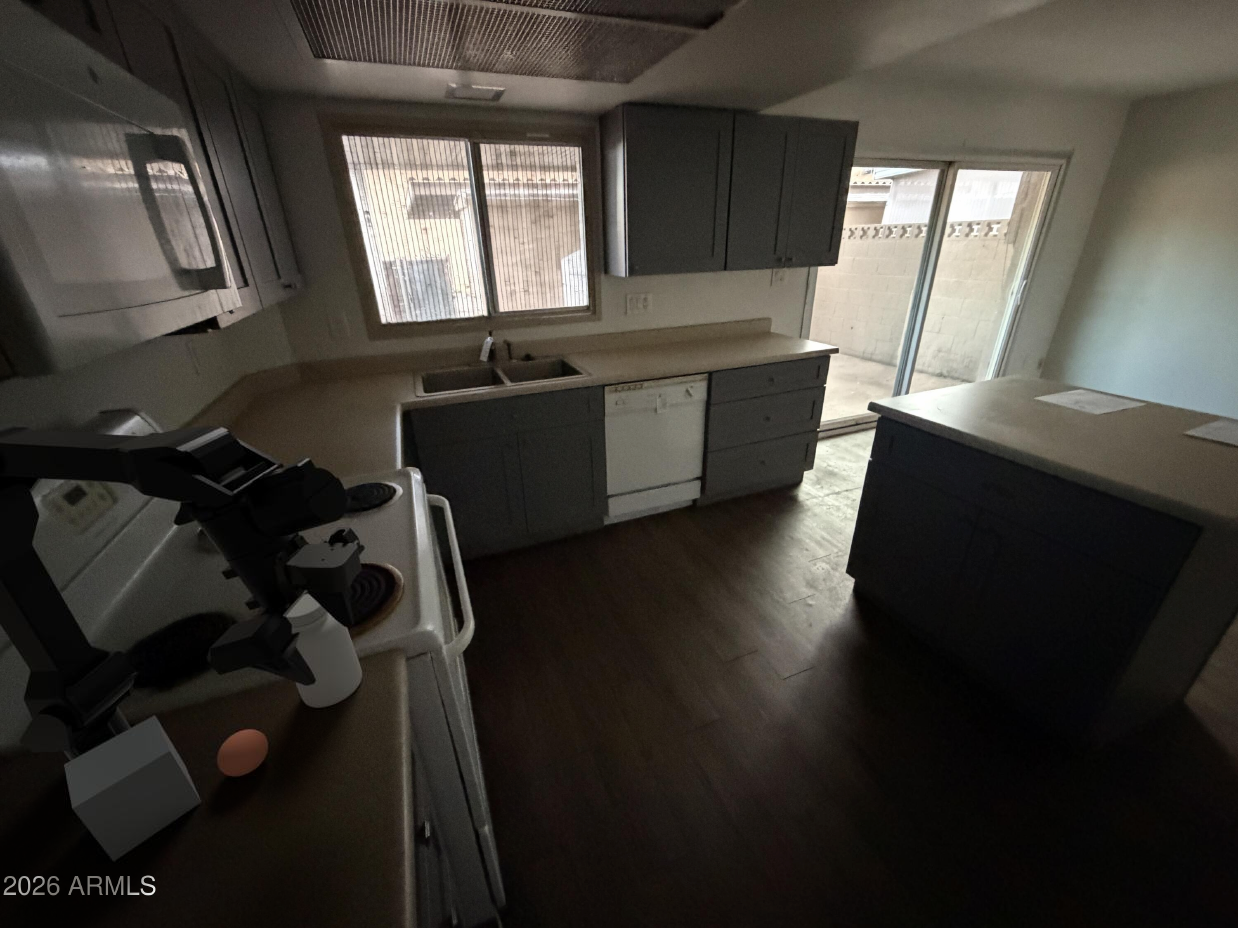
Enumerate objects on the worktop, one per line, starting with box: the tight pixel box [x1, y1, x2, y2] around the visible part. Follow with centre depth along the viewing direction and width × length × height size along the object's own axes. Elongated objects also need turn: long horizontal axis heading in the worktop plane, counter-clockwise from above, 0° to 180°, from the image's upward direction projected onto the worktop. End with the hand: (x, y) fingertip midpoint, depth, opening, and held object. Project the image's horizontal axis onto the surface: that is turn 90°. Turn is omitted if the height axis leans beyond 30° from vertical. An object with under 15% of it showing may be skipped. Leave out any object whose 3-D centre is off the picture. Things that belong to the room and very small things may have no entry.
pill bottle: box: [286, 593, 363, 709], centre depth 70 cm, size 8×8×15 cm
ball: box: [216, 729, 269, 777], centre depth 61 cm, size 5×5×5 cm
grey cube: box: [63, 715, 202, 863], centre depth 56 cm, size 8×8×9 cm
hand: (332, 652), depth 58 cm, fingers open, 9 cm apart
